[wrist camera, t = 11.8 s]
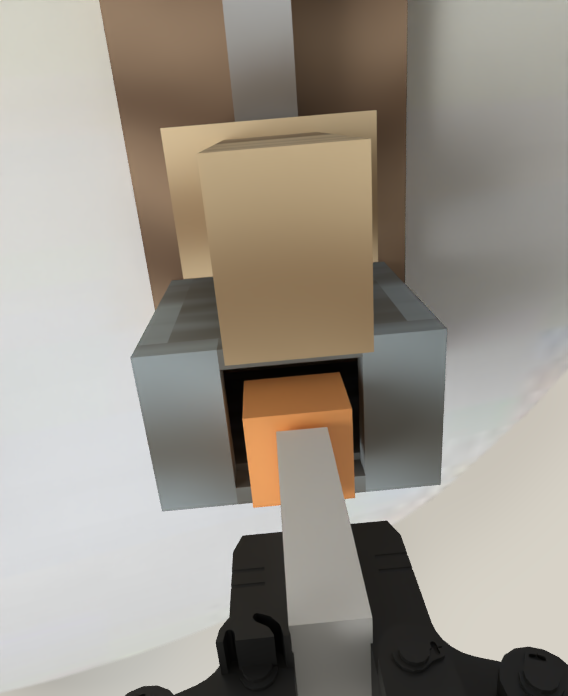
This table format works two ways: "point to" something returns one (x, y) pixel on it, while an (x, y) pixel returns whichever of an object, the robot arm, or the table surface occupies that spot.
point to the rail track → (199, 293)
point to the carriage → (281, 230)
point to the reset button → (294, 426)
